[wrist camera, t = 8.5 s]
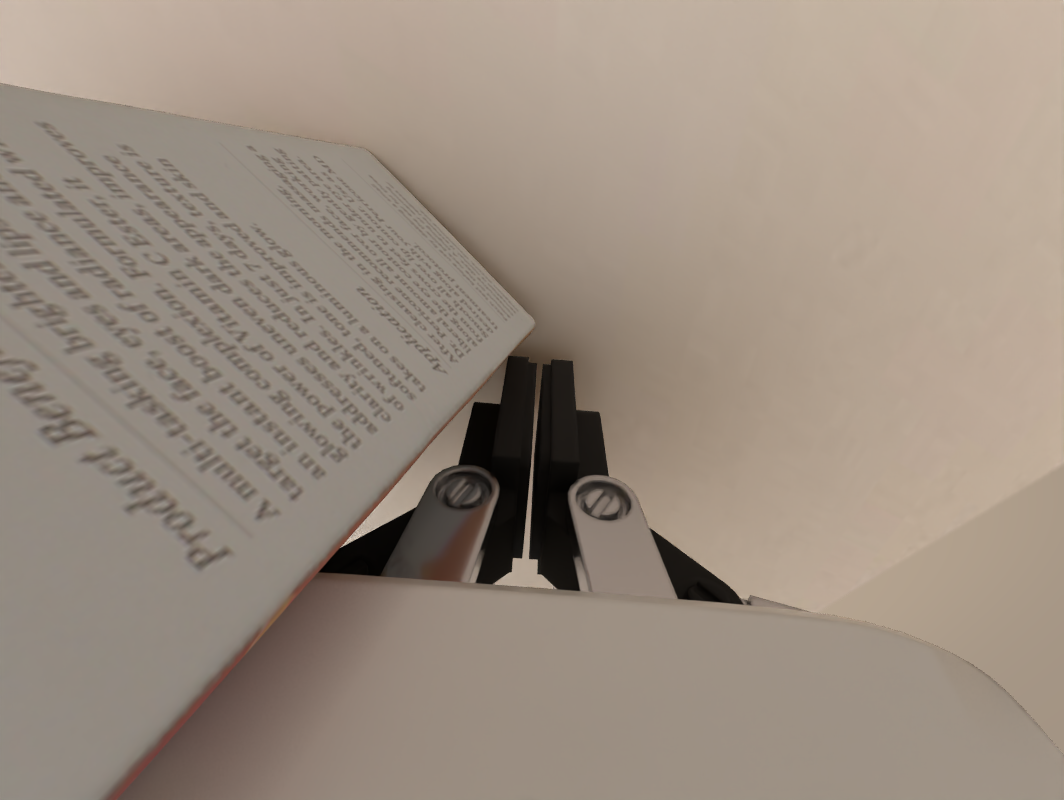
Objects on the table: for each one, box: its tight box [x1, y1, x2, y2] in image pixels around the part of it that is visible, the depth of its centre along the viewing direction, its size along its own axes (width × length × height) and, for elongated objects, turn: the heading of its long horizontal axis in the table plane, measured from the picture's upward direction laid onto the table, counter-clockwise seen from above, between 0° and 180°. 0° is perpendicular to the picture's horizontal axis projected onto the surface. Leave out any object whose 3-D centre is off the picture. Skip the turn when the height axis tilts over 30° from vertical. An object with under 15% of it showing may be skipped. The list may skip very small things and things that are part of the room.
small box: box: [0, 83, 536, 800], centre depth 8 cm, size 8×6×10 cm
